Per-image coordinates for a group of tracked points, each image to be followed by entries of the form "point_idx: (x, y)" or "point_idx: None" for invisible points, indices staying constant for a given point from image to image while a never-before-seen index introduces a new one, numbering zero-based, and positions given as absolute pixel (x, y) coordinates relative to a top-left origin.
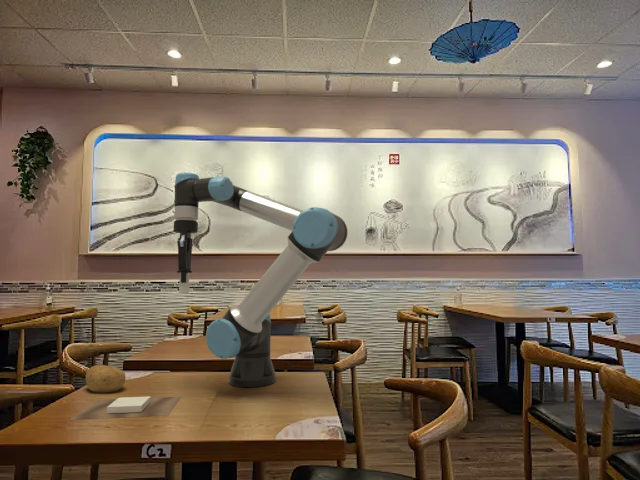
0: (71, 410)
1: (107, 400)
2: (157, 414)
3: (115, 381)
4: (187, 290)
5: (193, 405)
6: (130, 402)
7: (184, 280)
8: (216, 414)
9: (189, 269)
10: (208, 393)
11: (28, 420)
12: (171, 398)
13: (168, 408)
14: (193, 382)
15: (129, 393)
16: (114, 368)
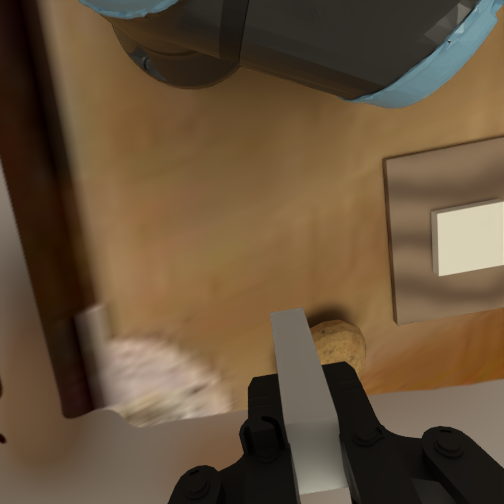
0: (426, 344)
1: (403, 305)
2: None
3: (360, 330)
4: (306, 319)
5: (419, 115)
6: (479, 234)
7: (355, 380)
8: (495, 31)
9: (247, 472)
10: (318, 113)
11: (473, 375)
12: (401, 177)
13: (478, 151)
14: (210, 194)
15: (315, 301)
16: (336, 361)
